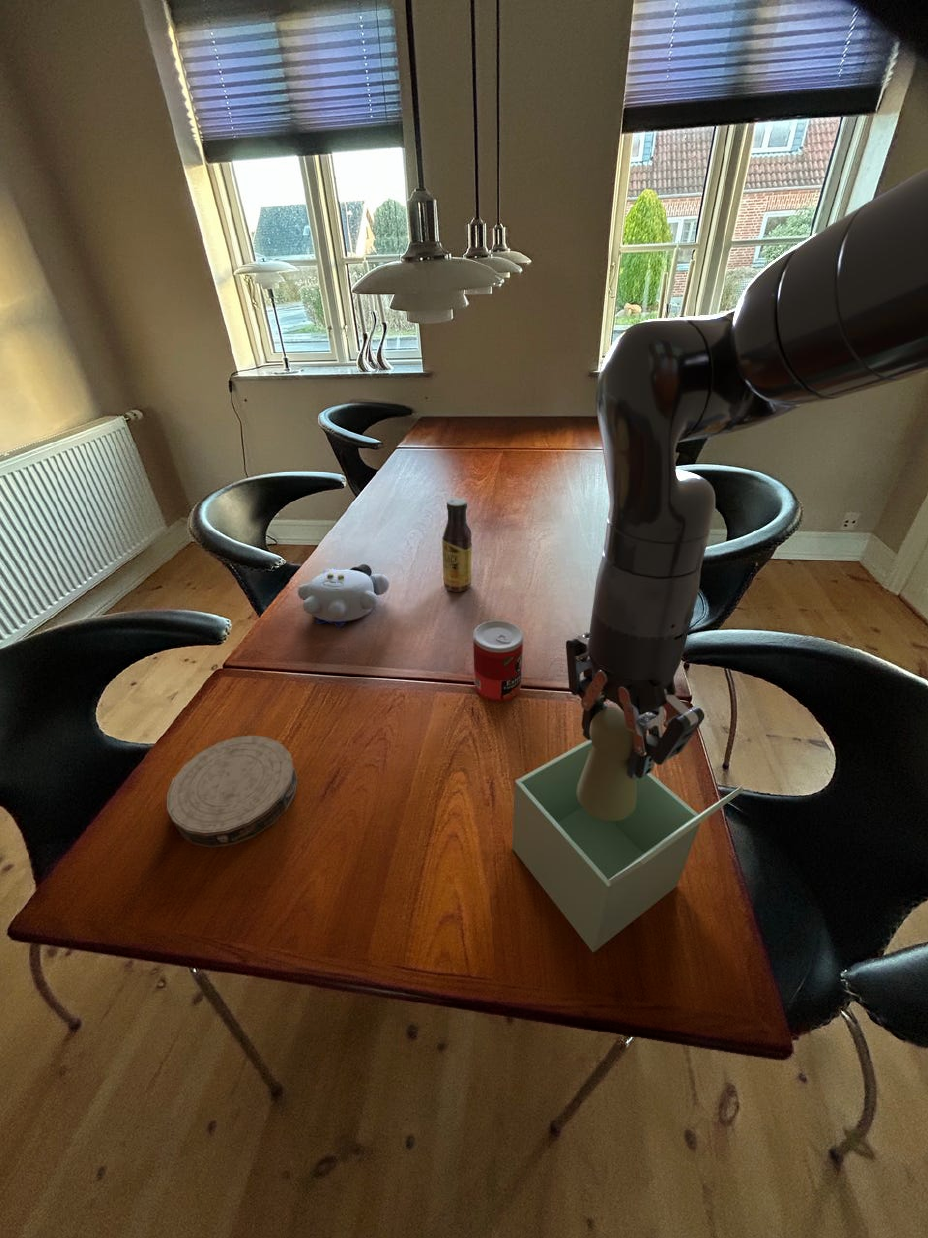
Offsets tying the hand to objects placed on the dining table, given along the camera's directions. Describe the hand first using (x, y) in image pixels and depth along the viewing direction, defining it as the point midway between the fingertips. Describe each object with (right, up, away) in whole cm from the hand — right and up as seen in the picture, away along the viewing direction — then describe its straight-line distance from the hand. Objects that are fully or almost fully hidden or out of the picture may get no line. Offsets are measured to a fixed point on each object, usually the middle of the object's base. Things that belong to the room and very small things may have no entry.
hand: (614, 753), depth 51 cm
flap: (+4, -6, -4) cm, 8 cm away
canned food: (-9, +1, +38) cm, 39 cm away
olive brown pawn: (0, -5, +4) cm, 7 cm away
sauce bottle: (-16, +20, +65) cm, 70 cm away
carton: (+1, -16, +11) cm, 20 cm away
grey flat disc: (-45, -11, +21) cm, 51 cm away
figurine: (-39, +16, +60) cm, 74 cm away
